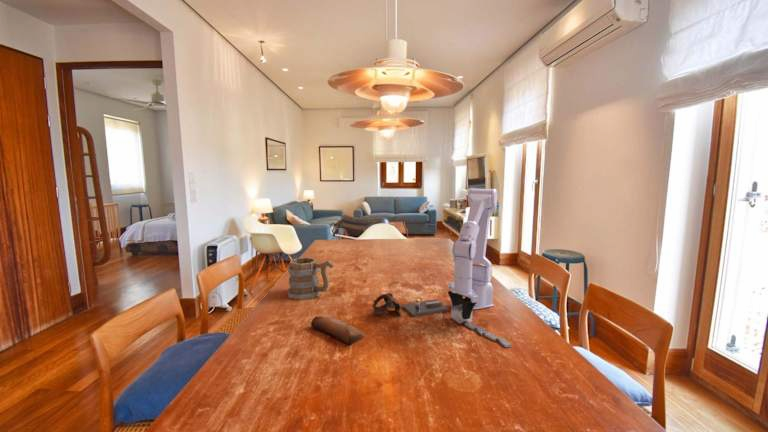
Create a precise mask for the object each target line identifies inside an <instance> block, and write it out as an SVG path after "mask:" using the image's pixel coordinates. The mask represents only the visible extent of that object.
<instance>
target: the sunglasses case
mask: <svg viewBox="0 0 768 432" xmlns="http://www.w3.org/2000/svg"><path fill="white" fill-rule="evenodd" d="M310 324H311V327H312V328H315V329H317V330H320V331H322V332H324V333H327V334H329V336H330V335H331V336H332V337H335V338H336V339H337V340H341V341H342V342H344V343H345V344H348V345H349V346H353V345H355V344H356V343H358V342H359V341H361V340H362V339H364V338H366V337H367V335H366V333H364V332H362V331H361V330H360V329H358V328H356V327H354V326H352V325H350V324H349V323H348V322H347V321H344V320H343V319H339V318H336V317H335V318H334V317H331V316H319V315H318V316H315V317H314V318H312V320H311V322H310Z"/></svg>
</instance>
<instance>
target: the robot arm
mask: <svg viewBox="0 0 768 432" xmlns="http://www.w3.org/2000/svg"><path fill="white" fill-rule="evenodd" d="M498 195H499V194H498V190H497V189H496V188H475V187H470V188H469V190H468V191H467V202H468V206H469V211H468V216H467V219H466V221H465V222H464V223H462V226H461V228H460V232H459V235H458V238H457V240H456V241H454V242H453V245H452V249H451V251H452V253H451V254H452V257H453V258H452V261H453V263H454V273H453V281H449V282H448V283H447V284H448V289H450V290H449V291H447V295H448V296H449V298H450V301H451V306H456V305H462V311H463V319H470V315H471V312H472V310H479V309H486V308H492V307H494V303H493V301H494V300H493V299H494V287H493V284H492V282H491V280H492V274H493V268H492V267H493V265H492V262H491V261H490V260H489V259H488V258H487V257H486V254H487V253H486V252H487V244H488V236H489V227H490V226H489V225H490V220H491V216H492V214H493V213H495V212H496V210H497V207H498V197H499V196H498ZM472 313H473V312H472Z"/></svg>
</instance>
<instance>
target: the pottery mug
mask: <svg viewBox="0 0 768 432" xmlns="http://www.w3.org/2000/svg"><path fill="white" fill-rule="evenodd" d="M381 300H383V301H384V304H382V305H380V306H376V305H377V304H379V302H380V301H381ZM372 308H373V310H372V312H373V314H374V315H382V314H389V313H388V309H394V311H395V312H398V314H399V317H402V315H403V313H402V307H401V304H400V303H399V301H398V299H396V297H394V296H393V294H392V292H388V293H387V292H386V293H383V294H381V295H379V296H377V297H376V298H375V299H374V301H373V304H372Z"/></svg>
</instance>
